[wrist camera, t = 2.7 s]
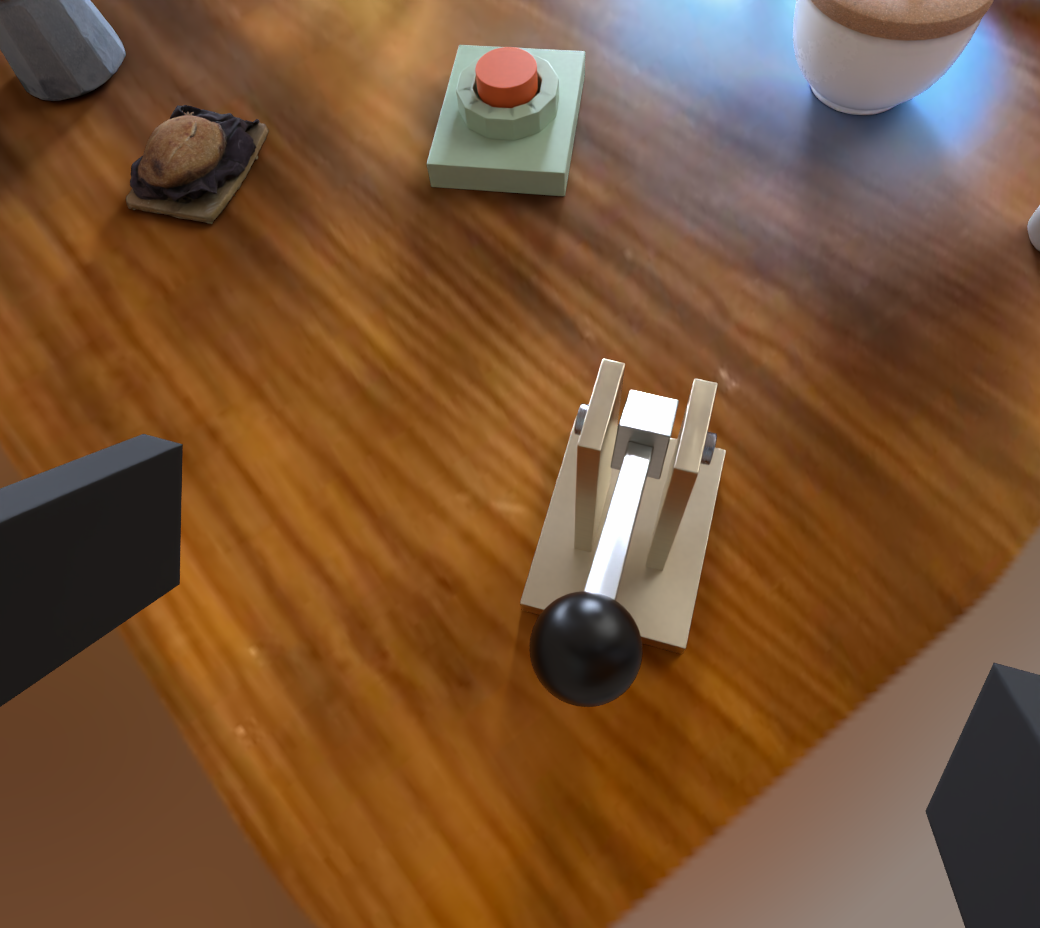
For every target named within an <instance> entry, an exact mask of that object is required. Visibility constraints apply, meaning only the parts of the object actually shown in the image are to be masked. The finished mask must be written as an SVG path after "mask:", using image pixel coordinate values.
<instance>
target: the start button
mask: <svg viewBox="0 0 1040 928" xmlns="http://www.w3.org/2000/svg"><path fill="white" fill-rule="evenodd" d="M475 73H476V82H477V90H478V95H479V97H480V98H481V100H482V101H483V102H484V103H486V104H488V105H489V106H491V107H497V108H513V107H516V106H520V105H523V104H526V103H528V102H529V101H531V100H532V99H533V98H534V96H535V94H536V92H537V89H538V79H537V63H536V60H535V59H534V57H533V56H532V55H531V54H530V53H528V52H527V51H525V50H523V49H519V48H515V47H502V48H497V49H494V50H491V51H489V52H487V53H486V54H484V55H483V56H482V57H481V58H480V59H479V60H478V62H477V64H476V68H475Z"/></svg>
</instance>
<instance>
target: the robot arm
mask: <svg viewBox="0 0 1040 928" xmlns="http://www.w3.org/2000/svg"><path fill="white" fill-rule="evenodd" d="M182 445H183V444H179V443H175V442H172V441H168V440H164V439H160V438H157V437H153V436H149V435H146V434H142V435H140V436H137V437H134V438H132V439H129V440H127V441H124V442H121V443H119V444H116V445H113V446H111V447H108V448H106V449H103V450H100V451H98V452H95V453H92V454H90V455H87V456H85V457H82V458H79V459H77V460H74V461H72V462H69V463H66V464H64V465H61V466H58V467H56V468H53V469H51V470H48V471H45V472H43V473H40V474H38V475H35V476H32V477H30V478H27V479H24V480H22V481H19V482H17V483H14V484H11V485H9V486H6V487H4V488H1V489H0V707H1V706H2V705H3V704H5V703H7V702H8V701H9V700H11V699H12V698H14V697H15V696H17V695H18V694H20V693H21V692H23V691H24V690H25V689H27V688H28V687H30V686H31V685H33V684H34V683H36V682H37V681H39V680H40V679H41V678H43V677H44V676H46V675H47V674H49V673H50V672H52V671H53V670H55V669H56V668H58V667H59V666H61V665H62V664H63V663H65V662H66V661H68V660H69V659H71V658H72V657H74V656H75V655H77V654H78V653H80V652H81V651H83V650H84V649H85V648H87V647H88V646H90V645H91V644H92V643H94V642H96V641H97V640H99V639H100V638H102V637H103V636H104V635H106V634H107V633H109V632H110V631H112V630H113V629H115V628H116V627H118V626H119V625H120V624H122V623H123V622H125V621H126V620H128V619H129V618H131V617H132V616H134V615H135V614H137V613H138V612H139V611H141V610H142V609H144V608H145V607H147V606H148V605H150V604H151V603H153V602H154V601H156V600H157V599H158V598H160V597H161V596H163V595H164V594H166V593H167V592H169V591H170V590H172V589H173V588H175V587H176V586H177V585H179V584H180V539H181V492H182ZM926 814H927V817H928V820H929V823H930V826H931V829H932V832H933V835H934V837H935V840H936V843H937V846H938V849H939V852H940V855H941V858H942V861H943V863H944V867H945V870H946V873H947V875H948V878H949V881H950V884H951V887H952V890H953V893H954V896H955V899H956V902H957V904H958V908H959V910H960V913H961V916H962V919H963V922H964V925H965V928H1040V675H1037V674H1034V673H1030V672H1026V671H1023V670H1019V669H1015V668H1012V667H1008V666H1004V665H1001V664H997V663H993V666H992V668H991V670H990V672H989V675H988V676H987V679H986V681H985V683H984V685H983V687H982V690H981V692H980V694H979V696H978V698H977V700H976V703H975V705H974V707H973V709H972V711H971V713H970V716H969V718H968V720H967V722H966V724H965V726H964V729H963V731H962V733H961V735H960V737H959V740H958V742H957V744H956V746H955V748H954V750H953V753H952V755H951V757H950V759H949V761H948V763H947V766H946V768H945V770H944V772H943V774H942V776H941V779H940V781H939V783H938V785H937V787H936V790H935V792H934V794H933V796H932V798H931V800H930V803H929V805H928V807H927V809H926Z"/></svg>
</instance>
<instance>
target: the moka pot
mask: <svg viewBox="0 0 1040 928" xmlns="http://www.w3.org/2000/svg"><path fill="white" fill-rule="evenodd" d="M0 49H1V51H2V53H3V54H4V56H5V58H6V59H7V61H8V62H9V64H10V66H11V67H12V69H13V71H14V72H15V74H16V76H17V77H18V79H19V81H20V82H21V84H22V85H23V87H24V88H25V90H26V91H27V92H28V93H30V94H31V95H33V96H35V97H37V98H40V99H42V100H49V101H60V100H64V99H68V98H74V97H78V96H81V95H84V94H86V93H89V92H91V91H92V90H94V89H96V88H98V87H99V86H100V85H102V84H104V83H105V82H106V81H107V80H108V79H110V78H111V77H112V75H113V74H114V73H115V72H116V71H117V70H118V68H119V66H120V65H121V64H122V62H123V59H124V57H125V55H126V53H125V49H124V46H123V44H122V42H121V41H120V39H119V37H118V35H117V34H116V33H115V31H114V30H113V28H112V27H111V26H110V24H109V23H108V22H107V21H106V20H105V18H104V17H103V16H102V14H101V13H100V12H99V11H98V9H97V8H96V7H95V6H94V4H93V3H92V2H91V1H90V0H0Z"/></svg>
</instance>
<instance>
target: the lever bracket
mask: <svg viewBox="0 0 1040 928" xmlns="http://www.w3.org/2000/svg"><path fill="white" fill-rule="evenodd" d="M624 368H625V363H621V362H616V361H612V360H607V359H603V360H602V363H601V366H600V369H599V373H598V376H597V380H596V383H595V386H594V390H593V393H592V396H591V400H590V403H589V405H587V404H581V406H580V408H579V411H578V414H577V416H576V419H575V422H574V425H573V429H572V432H571V435H570V439H569V442H568V445H567V449H566V452H565V455H564V459H563V462H562V465H561V469H560V472H559V475H558V479H557V482H556V485H555V488H554V492H553V495H552V498H551V502H550V505H549V508H548V512H547V515H546V518H545V522H544V525H543V528H542V532H541V535H540V538H539V542H538V545H537V548H536V552H535V555H534V558H533V562H532V565H531V568H530V572H529V575H528V578H527V582H526V585H525V588H524V592H523V595H522V598H521V602H520V605H521V610H523V611H527V612H530V613H534V614H537V615H540V614H541V613H542V611H543V610H544V609H545V608H546V607H547V606H548V605H549V604H551V603H552V602H553V601H554V600H556V599H558V598H559V597H562V596H564V595H566V594H569V593H573V592H580V591H584V589H585V585H586V582H587V579H588V575H589V572H590V569H591V565H592V562H593V559H594V555H595V552H596V549H597V545H598V542H599V538H600V535H601V532H602V528H603V525H604V522H605V518H606V515H607V512H608V508H609V505H610V502H611V498H612V495H613V492H614V488H615V485H616V482H617V478H618V475H619V472H620V470H617V469H613V468H611V467H610V466H611V460H612V455H613V450H614V445H615V440H616V435H617V429H618V426H617V423H618V415H619V408H620V400H621V392H622V384H623V376H624ZM717 386H718V384H717V383H714V382H709V381H704V380H700V379H694V382H693V385H692V389H691V393H690V396H689V400H688V403H687V407H686V410H685V414H684V418H683V421H682V425H681V428H680V432H679V435H678V439H674V438H670V441H669V445H668V449H667V453H666V457H665V461H664V465H663V469H662V473H661V477H660V479H655V478H651V477H647V479H646V483H645V487H644V491H643V495H642V499H641V503H640V507H639V511H638V515H637V519H636V523H635V527H634V530H633V534H632V538H631V542H630V546H629V550H628V554H627V558H626V562H625V566H624V570H623V574H622V578H621V582H620V586H619V590H618V594H617V598H616V601H617V602H619V603H620V604H621V605H622V606H623V607H624V608H625V609H626V610H627V611H628V612H629V613H630V614H631V616H632V617H633V619H634V621H635V622H636V624H637V626H638V629H639V632H640V635H641V640H642V644H646V645H649V646H653V647H657V648H660V649H664V650H668V651H671V652H675V653H678V654H683V652H684V650H685V649H686V645H687V640H688V636H689V631H690V626H691V621H692V616H693V611H694V606H695V601H696V596H697V591H698V586H699V581H700V576H701V571H702V566H703V561H704V556H705V551H706V546H707V542H708V537H709V532H710V527H711V522H712V517H713V512H714V507H715V502H716V497H717V492H718V487H719V482H720V477H721V472H722V467H723V462H724V457H725V452H726V450H722V449H718V448H715V444H716V439H717V434H715V433H711V432H708V427H709V423H710V418H711V413H712V409H713V404H714V399H715V395H716V390H717Z"/></svg>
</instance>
